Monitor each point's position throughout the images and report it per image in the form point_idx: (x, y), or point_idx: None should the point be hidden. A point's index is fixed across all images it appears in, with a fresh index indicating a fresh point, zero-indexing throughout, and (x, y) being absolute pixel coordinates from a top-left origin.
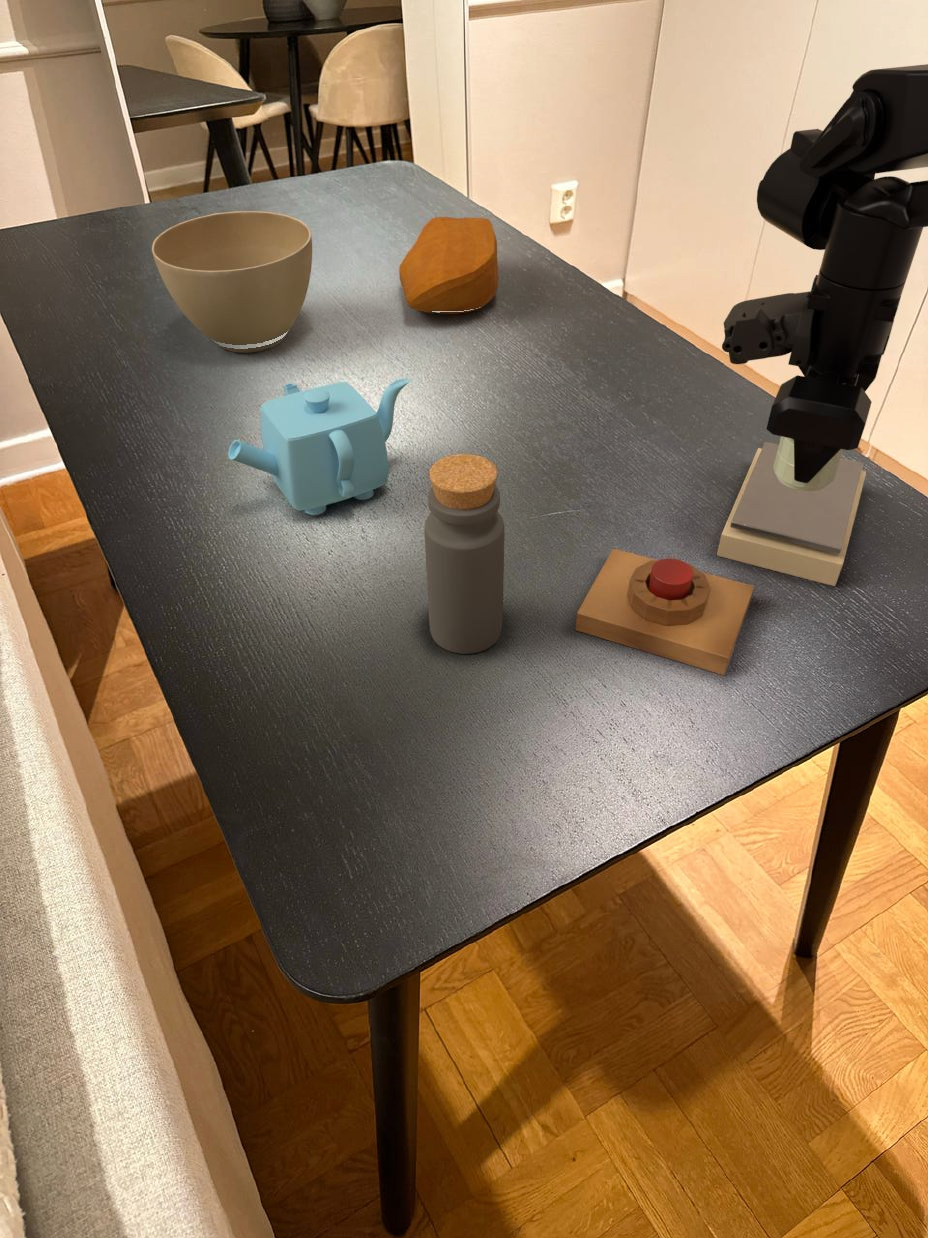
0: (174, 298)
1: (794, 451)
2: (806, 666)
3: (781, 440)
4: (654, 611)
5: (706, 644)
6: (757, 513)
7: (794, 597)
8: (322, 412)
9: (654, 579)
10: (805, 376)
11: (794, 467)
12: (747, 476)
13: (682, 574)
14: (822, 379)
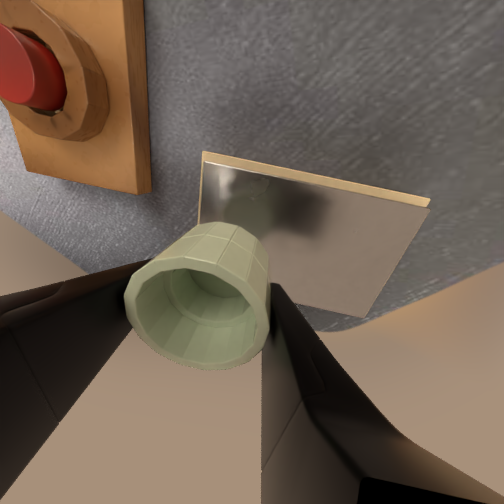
0: None
1: (70, 279)
2: (102, 236)
3: (182, 247)
4: None
5: (26, 145)
6: (232, 197)
7: (177, 231)
8: None
9: None
10: (338, 453)
11: (128, 264)
12: (347, 183)
13: (6, 83)
14: (302, 491)
